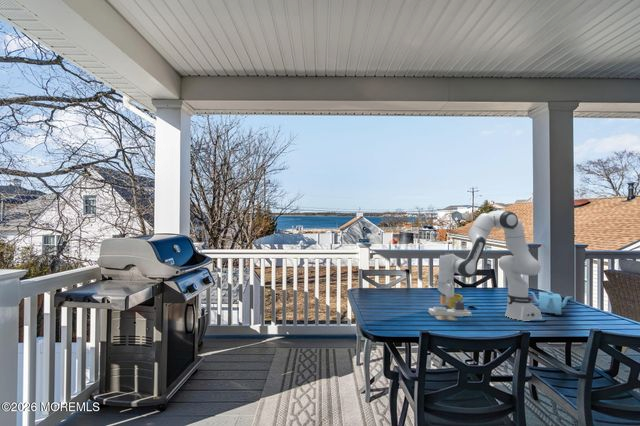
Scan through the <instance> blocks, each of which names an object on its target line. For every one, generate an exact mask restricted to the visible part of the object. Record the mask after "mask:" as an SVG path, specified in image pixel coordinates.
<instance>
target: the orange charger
mask: <svg viewBox="0 0 640 426" xmlns="http://www.w3.org/2000/svg"><path fill="white" fill-rule="evenodd" d="M445 298H446V297H445V295H442V294H440V298H439V304H440V305H441V306H447V307H448V306H450V298H449V302H448V303H446V302H445Z"/></svg>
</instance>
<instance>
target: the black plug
mask: <svg viewBox="0 0 640 426" xmlns="http://www.w3.org/2000/svg"><path fill="white" fill-rule="evenodd" d="M454 309H455V310H464V309H465V302H463V301H462V302H461V299H458V302H454Z"/></svg>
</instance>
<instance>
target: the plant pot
mask: <svg viewBox="0 0 640 426" xmlns="http://www.w3.org/2000/svg"><path fill="white" fill-rule="evenodd" d="M463 298H464V297H463V295H461V294H458V293H454V297H450V306H448V305H447V307H448V308H447V309H452V308H454V302H458V299H461V302H463Z"/></svg>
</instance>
